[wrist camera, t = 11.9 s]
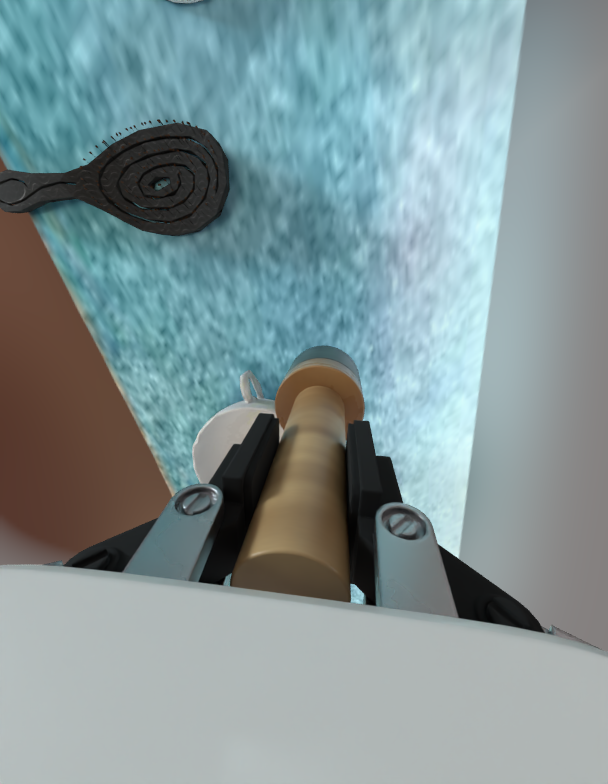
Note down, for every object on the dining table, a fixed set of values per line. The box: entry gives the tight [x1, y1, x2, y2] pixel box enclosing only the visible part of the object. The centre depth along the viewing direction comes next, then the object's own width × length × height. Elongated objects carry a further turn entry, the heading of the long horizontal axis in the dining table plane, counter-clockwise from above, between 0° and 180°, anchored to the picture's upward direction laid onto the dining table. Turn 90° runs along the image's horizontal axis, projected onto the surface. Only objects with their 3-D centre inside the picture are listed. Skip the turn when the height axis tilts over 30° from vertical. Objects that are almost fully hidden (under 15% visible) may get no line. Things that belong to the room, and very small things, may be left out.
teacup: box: [193, 370, 284, 484], centre depth 32 cm, size 15×12×8 cm
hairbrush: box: [0, 119, 230, 236], centre depth 27 cm, size 8×4×25 cm
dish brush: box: [230, 346, 365, 603], centre depth 13 cm, size 5×5×14 cm
